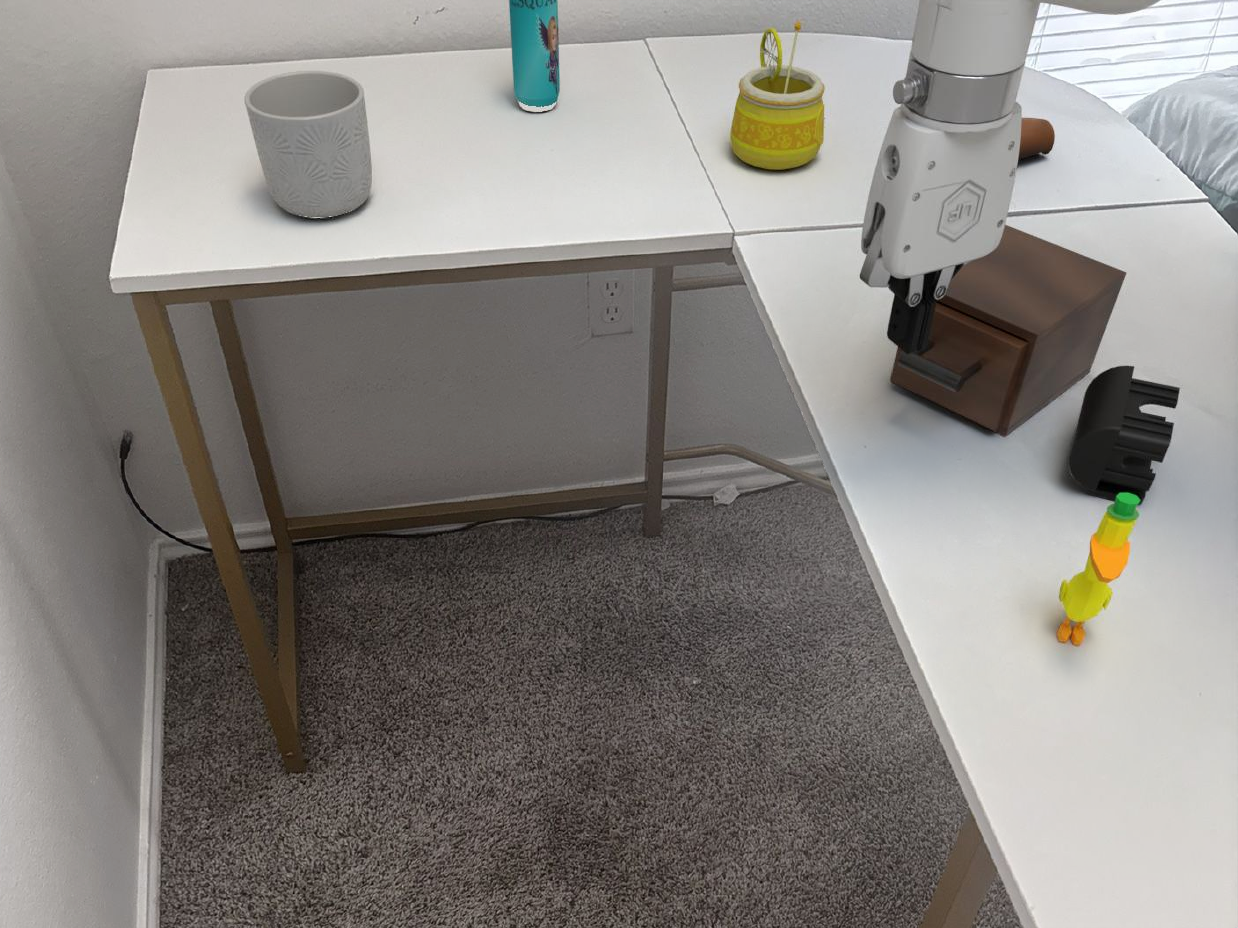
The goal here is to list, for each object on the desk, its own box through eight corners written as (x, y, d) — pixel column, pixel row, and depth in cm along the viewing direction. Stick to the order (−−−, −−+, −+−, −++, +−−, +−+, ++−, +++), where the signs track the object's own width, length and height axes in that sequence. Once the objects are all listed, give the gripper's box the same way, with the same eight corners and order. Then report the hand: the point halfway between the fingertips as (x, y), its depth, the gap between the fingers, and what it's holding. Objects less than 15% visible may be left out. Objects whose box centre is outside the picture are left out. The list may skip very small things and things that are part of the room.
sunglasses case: (1002, 127, 139) (1036, 84, 133) (1028, 178, 139) (1063, 137, 133) (887, 161, 134) (917, 118, 128) (914, 214, 134) (945, 173, 127)
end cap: (1071, 427, 103) (1098, 357, 98) (1152, 445, 101) (1184, 374, 96) (1055, 491, 97) (1082, 420, 92) (1140, 510, 96) (1173, 439, 90)
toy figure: (1092, 671, 85) (1155, 540, 75) (1043, 662, 85) (1099, 531, 76) (1094, 612, 88) (1154, 480, 79) (1047, 603, 89) (1101, 471, 79)
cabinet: (1005, 437, 102) (1038, 335, 94) (890, 381, 107) (912, 280, 100) (1089, 372, 108) (1127, 272, 101) (977, 323, 114) (1004, 223, 106)
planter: (292, 172, 133) (270, 65, 124) (393, 183, 131) (379, 75, 122) (251, 222, 125) (225, 112, 117) (358, 234, 124) (340, 123, 115)
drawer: (967, 451, 99) (992, 367, 93) (862, 398, 104) (879, 316, 98) (1074, 371, 107) (1104, 289, 101) (971, 325, 112) (993, 244, 105)
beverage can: (547, 118, 142) (542, -28, 130) (506, 110, 143) (498, -35, 131) (567, 101, 145) (564, -43, 133) (527, 93, 146) (521, -50, 134)
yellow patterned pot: (809, 182, 132) (826, 63, 122) (718, 168, 134) (727, 50, 124) (832, 137, 139) (850, 21, 129) (745, 124, 141) (756, 10, 131)
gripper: (901, 129, 73) (853, 391, 88) (1085, 85, 77) (1010, 343, 92) (836, 86, 77) (801, 344, 92) (1015, 47, 81) (953, 300, 96)
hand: (905, 343), depth 92 cm, fingers closed
